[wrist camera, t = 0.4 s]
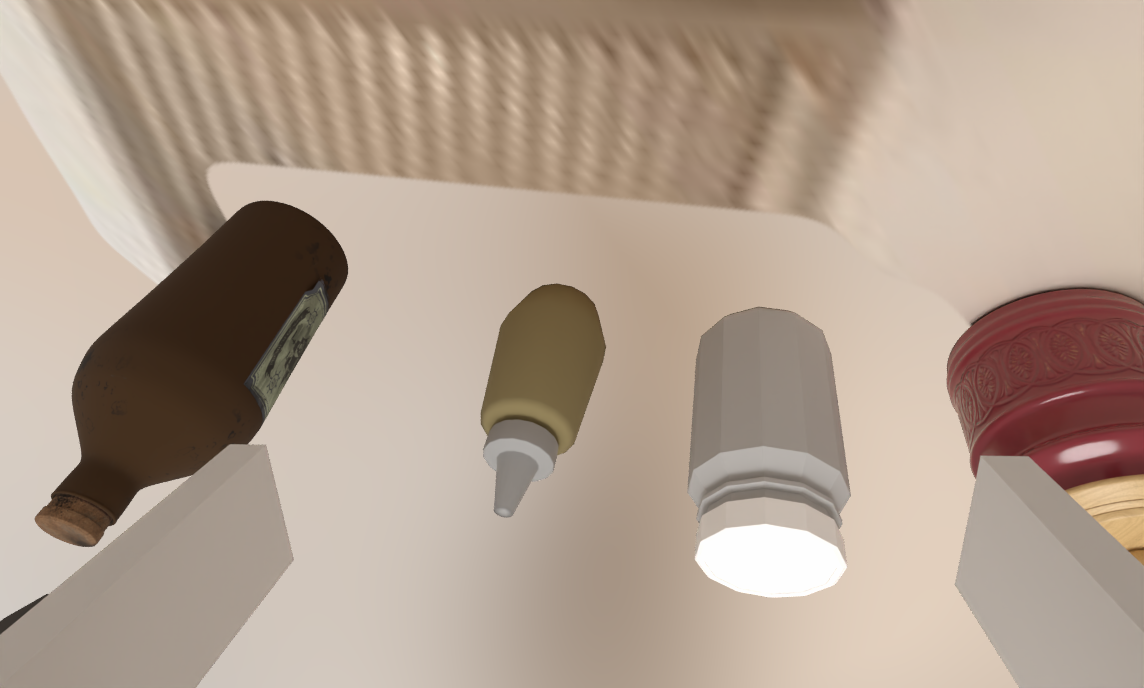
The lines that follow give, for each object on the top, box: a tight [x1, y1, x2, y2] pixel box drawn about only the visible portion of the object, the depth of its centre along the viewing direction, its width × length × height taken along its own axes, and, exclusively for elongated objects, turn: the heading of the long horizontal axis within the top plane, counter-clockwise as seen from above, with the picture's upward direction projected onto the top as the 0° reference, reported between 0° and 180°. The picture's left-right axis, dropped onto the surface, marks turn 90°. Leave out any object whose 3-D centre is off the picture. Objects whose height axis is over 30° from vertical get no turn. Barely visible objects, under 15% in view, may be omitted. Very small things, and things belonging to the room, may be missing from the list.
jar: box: [688, 307, 851, 597], centre depth 43 cm, size 10×10×18 cm
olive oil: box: [35, 201, 348, 547], centre depth 43 cm, size 11×11×25 cm
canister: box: [947, 289, 1144, 566], centre depth 39 cm, size 13×13×18 cm
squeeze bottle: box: [481, 284, 606, 517], centre depth 45 cm, size 8×8×18 cm
